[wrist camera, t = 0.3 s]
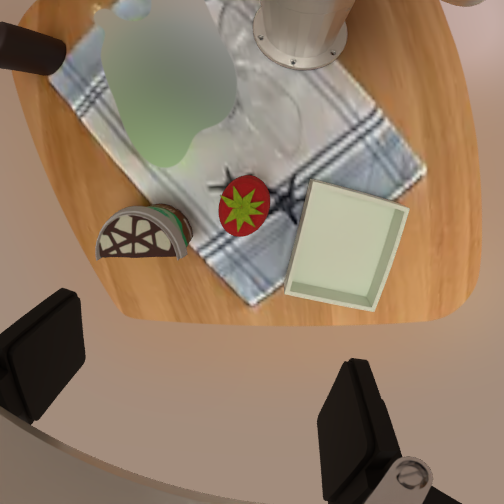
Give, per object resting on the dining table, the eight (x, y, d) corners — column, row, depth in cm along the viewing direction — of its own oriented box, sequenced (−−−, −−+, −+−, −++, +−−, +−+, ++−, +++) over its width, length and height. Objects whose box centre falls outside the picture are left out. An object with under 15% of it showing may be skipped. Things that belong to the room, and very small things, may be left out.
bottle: (45, 83, 38) (-43, 74, 19) (34, 59, 36) (-48, 45, 17) (71, 56, 36) (-16, 32, 17) (60, 32, 35) (-21, 6, 16)
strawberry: (219, 217, 43) (202, 237, 34) (237, 165, 41) (224, 170, 31) (259, 232, 43) (253, 256, 34) (279, 180, 41) (278, 190, 31)
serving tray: (310, 178, 40) (313, 181, 37) (399, 202, 40) (409, 208, 36) (284, 281, 45) (284, 294, 42) (367, 299, 45) (374, 311, 41)
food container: (199, 193, 42) (176, 206, 33) (203, 236, 44) (182, 260, 35) (121, 198, 43) (84, 213, 34) (126, 238, 45) (93, 260, 36)
